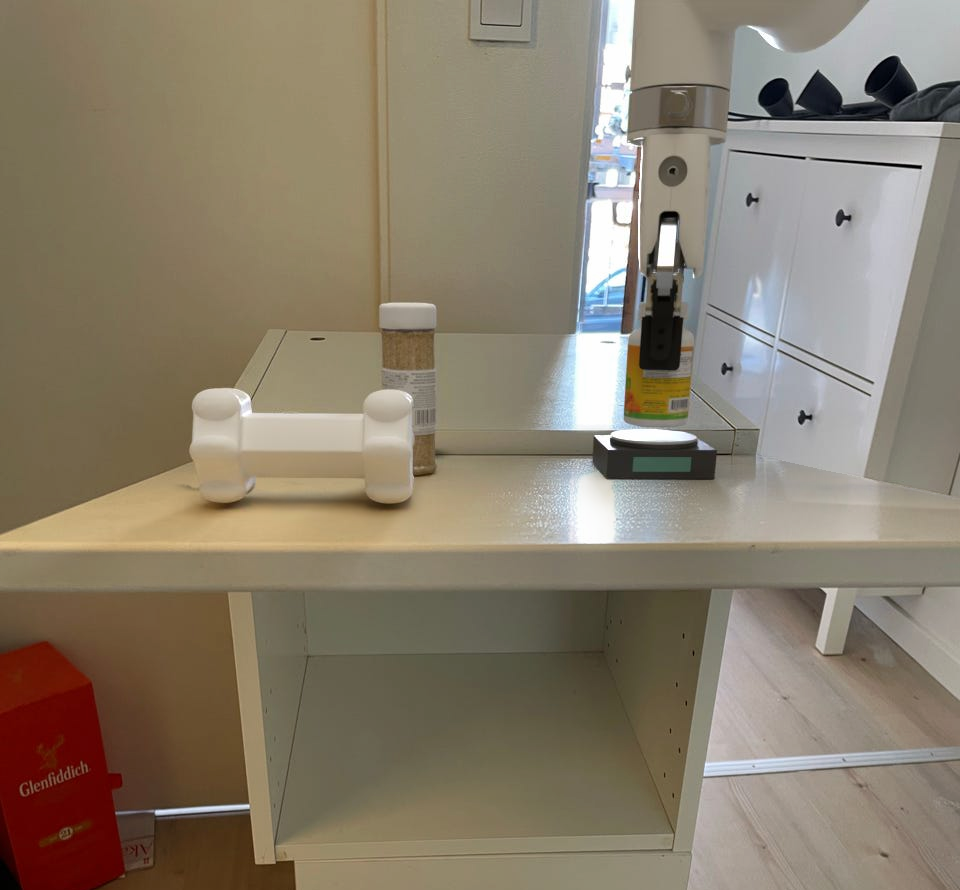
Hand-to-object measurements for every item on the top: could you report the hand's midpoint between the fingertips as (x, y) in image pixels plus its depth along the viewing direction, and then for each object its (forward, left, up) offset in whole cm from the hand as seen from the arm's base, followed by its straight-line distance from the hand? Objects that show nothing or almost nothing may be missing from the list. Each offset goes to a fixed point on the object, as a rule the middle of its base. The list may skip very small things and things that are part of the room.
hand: (659, 364), depth 81 cm
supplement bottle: (0, 0, -5) cm, 5 cm away
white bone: (+24, +19, -9) cm, 32 cm away
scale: (0, 0, -9) cm, 9 cm away
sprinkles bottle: (+20, +6, -9) cm, 23 cm away
